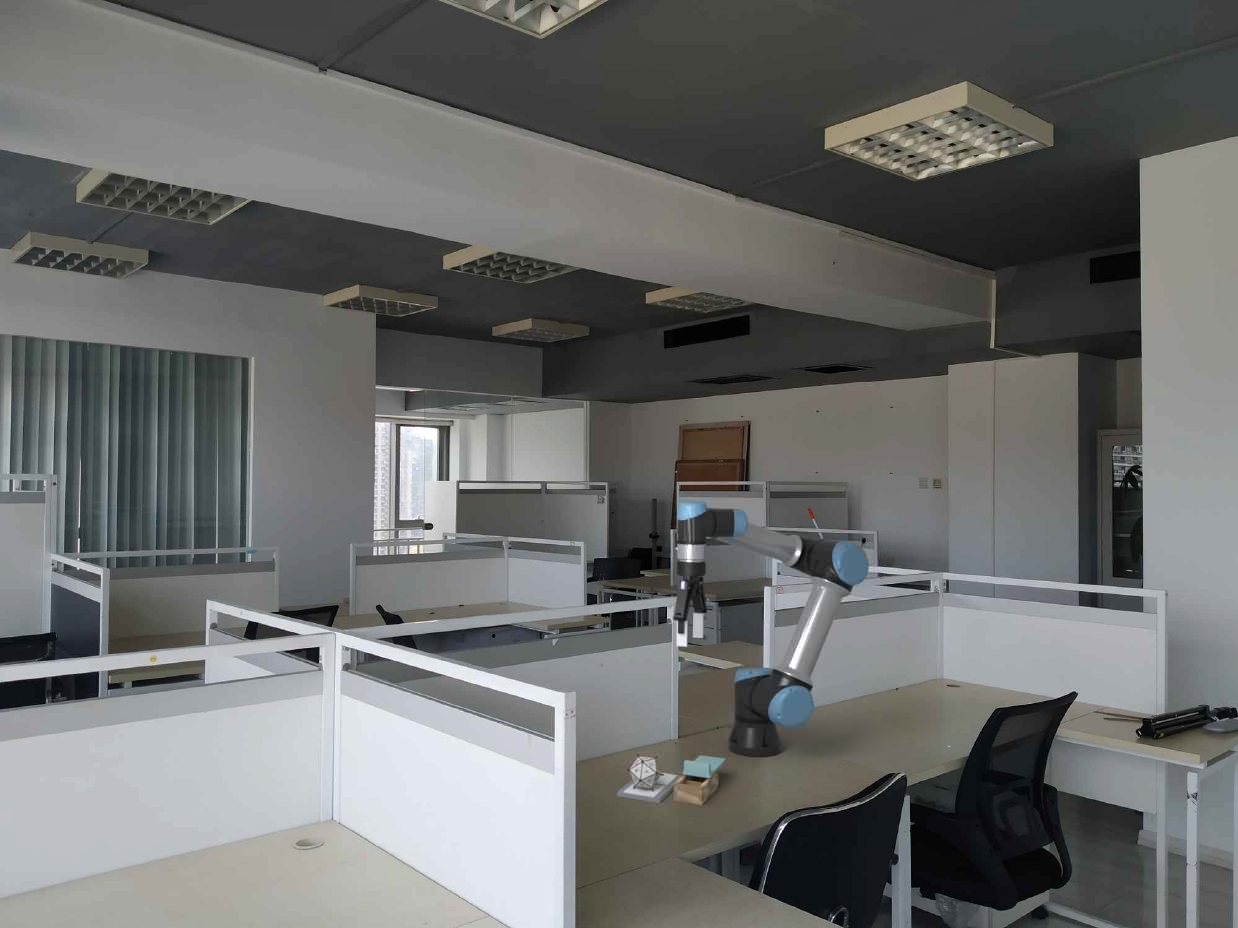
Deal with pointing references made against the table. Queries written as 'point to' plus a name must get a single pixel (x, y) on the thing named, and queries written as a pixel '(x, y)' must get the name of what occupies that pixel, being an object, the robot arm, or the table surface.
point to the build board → (646, 794)
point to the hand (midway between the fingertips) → (690, 641)
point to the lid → (703, 766)
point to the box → (695, 788)
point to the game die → (645, 772)
